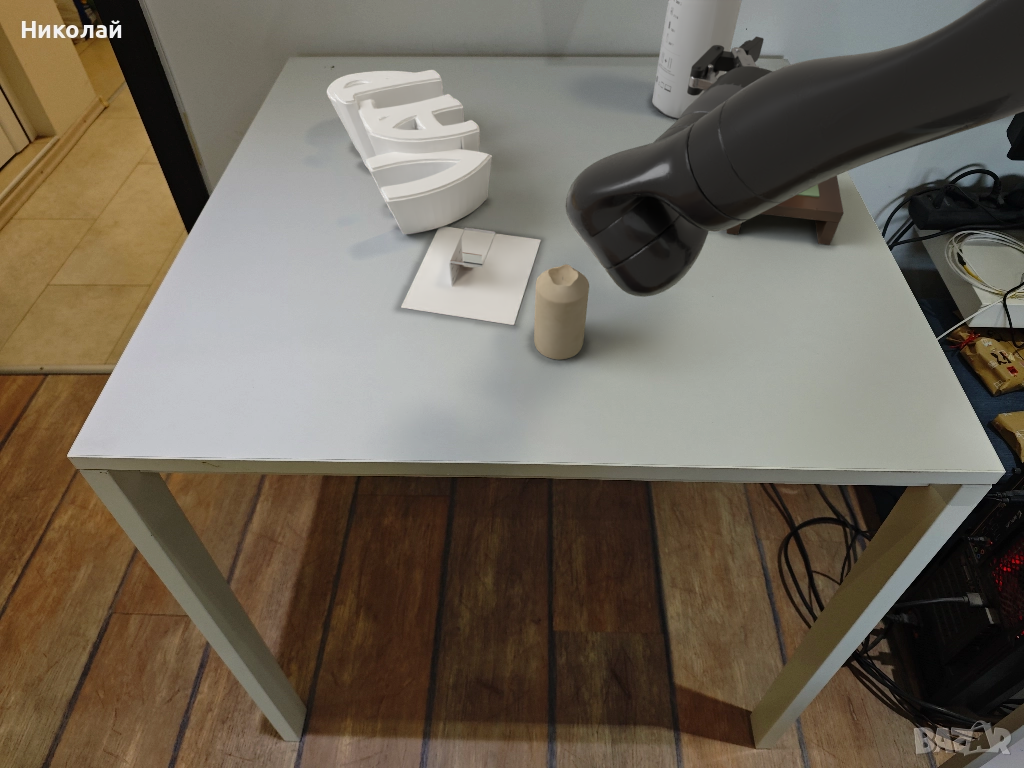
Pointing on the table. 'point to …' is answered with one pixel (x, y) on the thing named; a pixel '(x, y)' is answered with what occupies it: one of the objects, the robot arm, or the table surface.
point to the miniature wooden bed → (812, 209)
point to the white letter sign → (414, 145)
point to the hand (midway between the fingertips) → (799, 58)
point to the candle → (560, 312)
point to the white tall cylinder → (690, 47)
